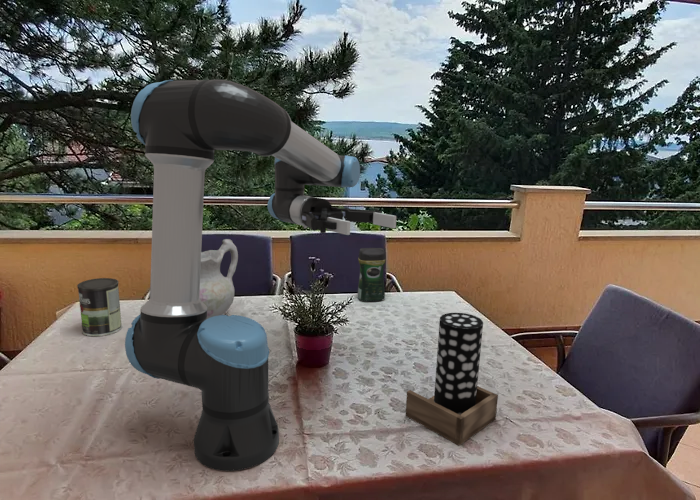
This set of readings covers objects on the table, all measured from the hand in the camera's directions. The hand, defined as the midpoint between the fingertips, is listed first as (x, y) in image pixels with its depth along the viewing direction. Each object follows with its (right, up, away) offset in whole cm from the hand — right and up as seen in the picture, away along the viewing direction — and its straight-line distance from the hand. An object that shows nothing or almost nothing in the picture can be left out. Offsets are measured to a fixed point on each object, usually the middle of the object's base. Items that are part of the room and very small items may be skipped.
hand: (373, 225), depth 100 cm
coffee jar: (+3, -23, +69) cm, 73 cm away
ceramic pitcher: (-49, -27, +46) cm, 72 cm away
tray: (+16, -40, -3) cm, 43 cm away
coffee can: (-76, -28, +37) cm, 89 cm away
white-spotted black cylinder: (+17, -39, -3) cm, 42 cm away
